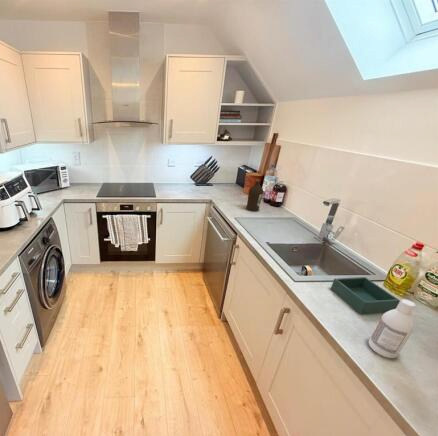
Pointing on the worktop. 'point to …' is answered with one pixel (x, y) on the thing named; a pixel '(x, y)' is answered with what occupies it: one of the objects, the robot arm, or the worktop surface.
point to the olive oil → (254, 196)
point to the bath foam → (393, 330)
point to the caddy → (364, 295)
